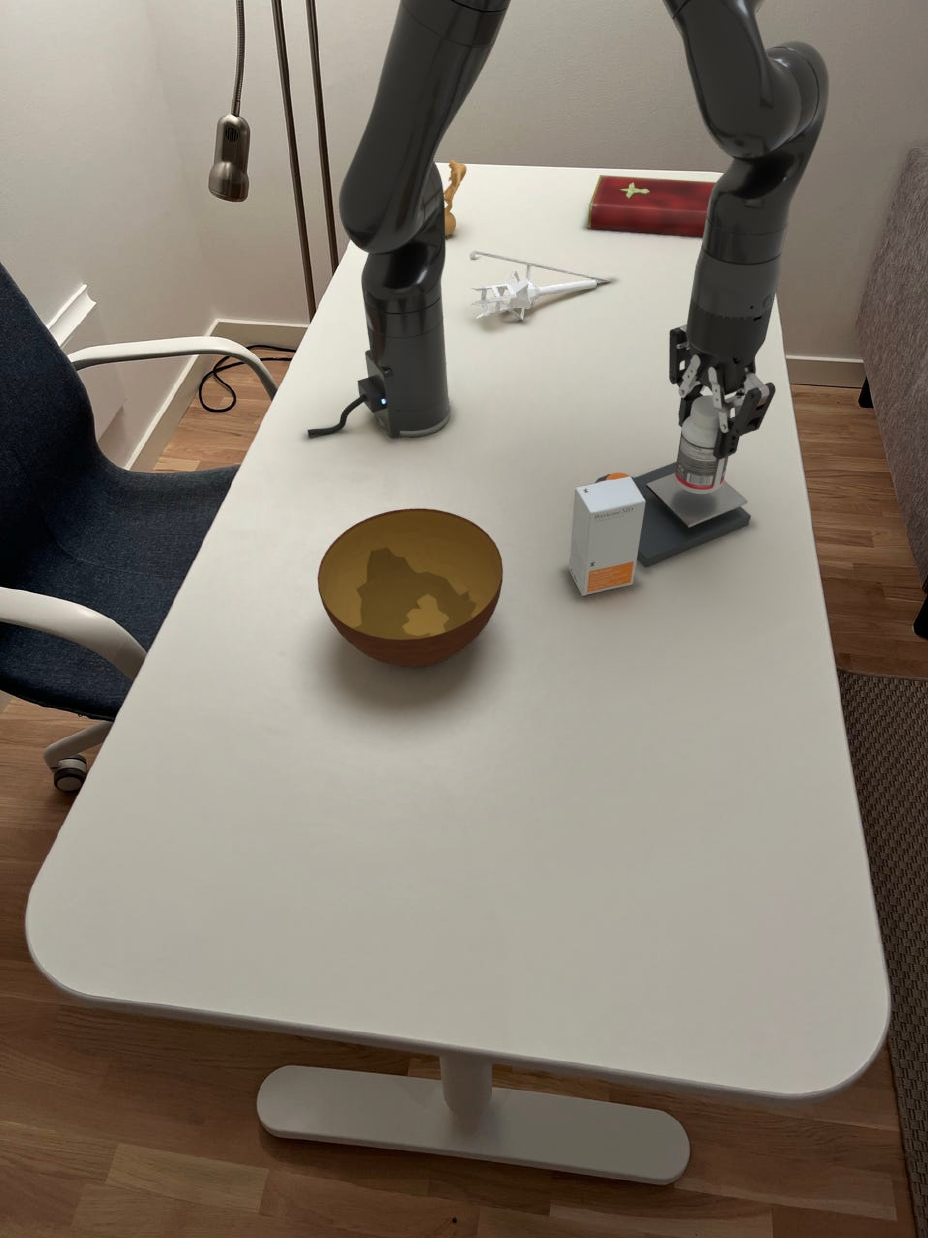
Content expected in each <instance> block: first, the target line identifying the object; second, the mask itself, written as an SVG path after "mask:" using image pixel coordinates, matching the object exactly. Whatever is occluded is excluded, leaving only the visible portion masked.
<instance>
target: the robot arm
mask: <svg viewBox="0 0 928 1238" xmlns="http://www.w3.org/2000/svg"><path fill="white" fill-rule="evenodd" d="M511 1H512V0H399V3H398V8H397V12H396V18H395V20H394V24H393V27H392V30H391V31H392V32H391V35H390V39H389V42H388V45H387V49H386V53H385V56H384V59H383V65H382V68H381V73H380V75H379V80H378V84H377V90H376V93H375V96H374V101H373V105H372V108H371V111H370V114H369V118H368V120H367V123H366V126H365V128H364V131H363V133H362V135H361V138H360V140H359V143H358V145H357V148H356V149H355V152H354V155H353V157H352V160H351V161H350V163H349V167H348V169H347V171H346V173H345V176H344V178H343V181H342V183H341V187H340V190H339V195H338V210H339V217H340V221H341V225H342V227H343V229H344V231H345V233H346V235H347V236H348V238H349V240H350V241H351V242H352V243H353V244H354V245H355V246H356V247H357V248H358V249H360V250H361V251H363V252H365V253H367V257H366V260H365V263H364V265H363V268H362V272H361V277H360V278H361V279H360V282H361V291H362V299H363V306H364V314H365V321H366V322H365V323H366V329H367V338H368V346H369V349H368V350H367V349H366V351H364V356H365V362H366V364H365V365H366V371H367V377H366V378H361V379H359V380H357V381H356V382H357V387H358V394H359V396H358V397H357V398H356V399H355V400H353V401H352V402H351V403H349V404H348V405H347V406H346V407H345V408H344V409H343V411H342V412H341V414H340V418H339V422H338V423H337V424H335V425H334V426H331V427H325V428H311V429H307V435H308V437H314V436H328V435H332V434H335V433H338V432H340V431H342V430H343V429H344V427H345V426H346V424H347V420H348V416H349V415H350V414H351V412H353V411H354V410H355V409H356V408H358V407H359V406H361V405H362V404H363V403H364V405H365V406H366V407H367V409H368V410H369V412H371V414H372V415H373V416H374V418H375V419H376V420H377V422H378V423H379V425H380V426H381V427H382V428H383V429H384V431H385V432H386V434H388V436H389V437H390V438H391V439H396V438H398V437H407V438H408V437H409V438H414V437H424V436H427V435H430V434H433V433H436V432H437V431H439V430H440V429H442V428H443V427H444V426H445V425H446V424H448V422H449V419H450V417H451V407H450V397H449V386H448V371H447V359H446V358H447V356H446V341H445V327H444V326H445V325H444V323H445V322H444V308H443V294H442V293H443V292H442V291H443V290H442V277H443V272H444V269H445V265H446V264H445V263H446V253H447V251H446V250H447V249H446V247H447V246H446V244H447V243H446V236H445V208H446V206H445V205H446V204H445V203H446V202H445V200H444V191H445V190H444V185H443V180H442V175H441V174H440V170H439V168H438V165H437V163H436V162H435V160H434V159H435V156H436V155H437V152H438V150H439V147H440V144H441V142H442V141H443V138H444V137H445V136H446V133H447V131H448V130H449V128H450V126H451V124H452V123H453V122H454V120H455V118H456V117H457V115H458V113H459V111H460V109H461V108H462V106H463V105H464V103H465V102H466V99H468V96H469V95H470V93H471V91H472V89H473V87H474V86H475V84H476V82H477V80H478V78H479V76H480V75H481V73H482V71H483V69H484V67H485V65H486V64H487V61H488V59H489V57H490V55H491V53H492V50H493V48H494V46H495V44H496V41H497V38H498V35H499V34H500V31H501V28H502V25H503V23H504V20H505V17H506V15H507V12H508V10H509V7H510V4H511ZM661 1H662V3H663V5H664V7H665V9H666V11H667V13H668V15H669V16H670V19H671V21H672V22H673V24H674V26H675V28H676V29H677V31H678V33H679V35H680V37H681V40H682V44H683V49H684V54H685V60H686V64H687V70H688V73H689V76H690V80H691V84H692V88H693V92H694V97H695V100H696V105H697V108H698V112H699V115H700V117H701V118H700V119H701V120H702V123H703V125H704V128H705V129H706V132H707V133H708V135H709V136H710V138H711V140H712V141H713V143H714V144H715V145H716V146H717V147H718V149H720V150H721V151H722V152H723V153H725V154H726V155H727V156H729V157H730V158H732V160H731V163H730V165H729V166H728V167H727V169H726V170H725V171H724V172H723V173H722V175H721V176H720V177H719V178H718V179H717V180H716V181H715V182H716V183H715V185H714V187H713V189H712V192H711V195H710V199H709V203H708V208H707V214H706V220H705V227H704V233H703V237H702V241H701V246H700V251H699V254H698V257H697V260H696V264H695V268H694V275H693V281H692V286H691V287H692V288H691V294H690V301H689V307H688V314H687V320H686V324H683V325H680V326H678V327H674V328H671V329H670V330H669V340H668V341H669V344H668V345H669V346H668V347H669V348H668V350H669V352H668V355H669V356H668V358H669V359H668V361H669V362H668V364H669V365H668V379H669V382H670V383H671V384H672V385H677V387H678V395H679V397H680V401H679V408H678V414H677V415H678V426H679V427H680V428H681V429H682V425H683V423H684V421H685V420H686V419H687V418H688V417H689V416H690V415H691V408H692V404H693V402H694V401H695V400H696V399H697V398H699V397H701V396H704V394H702V392H703V391H704V390H705V389H706V387H707V388H708V389H709V391H711V393H712V395H713V403H714V408H715V409H716V410H718V412H719V422H720V428H718V432H717V437H716V442H715V447H714V452H713V456H714V457H716V458H717V459H718V460H721V459H723V458H726V457H728V456H729V457H730V456H733V455H735V454H736V452H737V451H738V446H739V442H740V438H741V437H742V436H744V435H747V434H749V433H751V432H756V431H758V430H759V429H760V427H761V425H762V423H763V421H764V419H765V416H766V414H767V412H768V410H769V408H770V405H771V403H772V401H773V398H774V396H775V395H776V391H777V390H776V386H775V384H774V383H773V382H769V381H768V382H766V383H763V381H762V380H761V379H760V378H759V377H758V376H757V375H756V373H757V367H756V366H757V365H756V355H757V354H758V352H759V351H760V349H761V348H762V346H763V345H764V343H765V342H766V338H767V334H768V331H769V324H770V321H771V316H772V312H773V308H774V307H773V306H774V303H775V299H776V293H777V289H778V284H779V279H780V275H781V274H780V273H781V265H782V264H781V263H782V254H783V248H784V245H785V240H786V235H787V231H788V227H789V222H790V217H791V211H792V205H793V201H794V198H795V196H796V193H797V190H798V189H799V188H798V187H799V186H800V184H801V182H802V179H803V177H804V176H805V173H806V171H807V169H808V166H809V163H810V161H811V159H812V155H813V153H814V151H815V148H816V145H817V143H818V141H819V138H820V135H821V132H822V131H823V126H824V123H825V120H826V117H827V113H828V108H829V102H830V95H831V80H830V79H831V78H830V71H829V69H828V66H827V63H826V60H825V58H824V56H823V55H822V53H821V52H820V51H819V50H818V49H817V48H816V47H815V46H813V45H812V44H810V43H808V42H805V41H803V40H787V41H782V42H779V43H776V44H775V45H773V46H771V47H768V48H767V49H766V47H765V45H764V42H763V39H762V35H761V32H760V28H759V24H758V21H757V17H756V15H757V13H758V12H759V10H761V8H762V7H763V4H764V2H765V0H661ZM682 362H683V363H684V366H683V367H684V368H682V369H681V363H682ZM731 394H734V395H733V396H730V397H726V396H729V395H731ZM732 409H734V416H732V417H731V414H730V410H731V411H732ZM729 457H728V458H729Z"/></svg>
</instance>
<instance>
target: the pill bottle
mask: <svg viewBox="0 0 928 1238" xmlns="http://www.w3.org/2000/svg"><path fill="white" fill-rule="evenodd" d="M731 413H732V409H731V410H730V415H731ZM718 428H720V422H719V412H718V410H716V409H715V408H714V403H713V394H707V395H703V396H701V397H699V398H697V399H696V400H695V401H694V402H693V404H692V408H691V415H690V416H689V417H688V418H687V419H686V420H685V421H684V423H683V425H682V428H681V430H680V437H679V444H678V450H677V455H676V461H675V462H676V469H675V480H676V482H677V484H678V485H679V486H680V487H681V488H683V489H684V490H686V491H688V492H691V493H696V494H707V493H711V492H714V491H716V490H717V489H719V488H720V487H721V486H722V484H723V481H724V480H725V476H726V471H727V466H728V461H729V457H730V456H728V457H726V458H723V459H721V460H718V459H717V458H716V457H714V456H713V452H714V447H715V442H716V437H717V432H718Z"/></svg>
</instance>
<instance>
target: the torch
mask: <svg viewBox="0 0 928 1238" xmlns="http://www.w3.org/2000/svg"><path fill="white" fill-rule="evenodd" d="M476 255H479V256H477V257H476ZM482 256H484V257H488V258H493V259H498V260H503V261H508V262H512V263H517V264H522V265H526V272H525V278H523V279H520V276H519V273H518V271H517V270H514V271H511V273H510V275H509V276H508V278H507V279H506V281H505V282H504V284H494V285H487V286H483V285H482V286H481V285H480V287H479V288H478V287H471V289H473V290H474V291H476V292H481V297H480V300H476V301H473V302H471V303H468V305H469V306H480V305H481V306H482V308H483V311H484V313H483V312H482V313H480V314H479V315H478V316H477V317H476V318H475V319H476V320H477V319H480V318H482V317H484V318H485V317H488V316H493V315H498V314H501V313H504V312H508V313H511V315H512V316H513V317H514V318H515V319H517V320H518V321H522V320H524V315H525V309H532V307H533V306H534V305H535V303H536V302H537V300H538V299H539V297H545V296H551V295H557V294H558V295H559V294H563V293H564V294H565V293H570V292H577V291H582V290H583V291H584V290H588V289H595V288H596V287H597V285H598V281H601V282H612V280H611V279H609V278H605V277H601V276H596V275H592V274H588V273H582V272H578V271H573V270H568V269H564V268H559V267H554V266H549V265H546V264H540V263H537V262H531V261H526V260H522V259H517V258H512V257H508V256H503V255H499V254H493V253H490V252H485V251H480V250H477V249H476V250H473V251H470V252H469V260H470V261H473V262H475V261H478V260H481V259H482V258H483V257H482ZM532 267H535V268H539V269H545V270H549V271H555V272H559V273H564V274H568V275H573V276H577V277H582V278H587V279H585V280H578V281H572V282H565V283H559V284H558V283H557V284H553V285H547V286H546V285H545V286H539V287H538V286H537V285H535V283H533V282H532V281H531V271H532ZM514 277H515V280H517V282H515V283H513V284H510V283H511V281H512V279H513V278H514ZM488 290H491V291H492V293H493V295H494V297H490V298H487V294H488V293H487V292H488ZM505 291H508V293H509V294H506V295H504V293H505ZM506 300H510V303H509V306H508V305H507V304H506V303H505V301H506ZM493 303H495V307H494V311H491V310H490V308H489V306H488V304H493ZM516 308H517V309H521V311H520V315H519V314H518V313H517V312H516V311H515V310H514V309H516Z"/></svg>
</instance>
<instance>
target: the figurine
mask: <svg viewBox="0 0 928 1238" xmlns="http://www.w3.org/2000/svg"><path fill="white" fill-rule="evenodd" d="M448 167H449V168H450V176H449V177H448V180H447V181H448V182H451V183H450V184H449V185H448V186H447V188H446V189H445V190H444V202H445V203H446V204H447V206H445V237H449V236H450V235H452V234H453V233H454V231H456V228H457V219H456V217H455V215H454V214H453V213H452V212H451V210H453V209H452V208H453V200H454V197H455V194H456V193H457V191H458V189H459V187H460V185H461V183H462V181H463V179H464V178H465V176H466V174H467V170H468V169H467V166H466V165H465V164H464V163H462V162H458V161H456V160H453V159H451V160H449V164H448Z"/></svg>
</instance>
